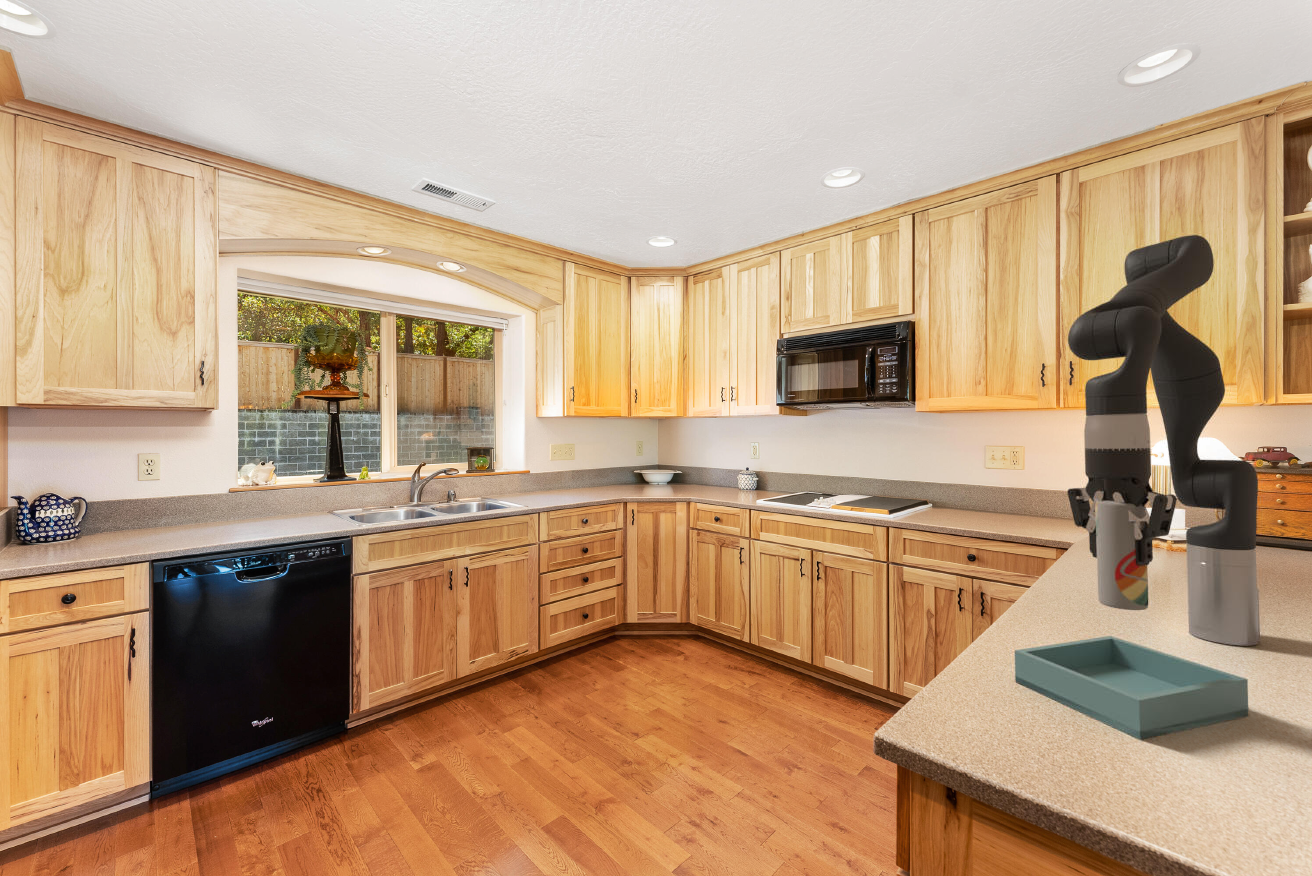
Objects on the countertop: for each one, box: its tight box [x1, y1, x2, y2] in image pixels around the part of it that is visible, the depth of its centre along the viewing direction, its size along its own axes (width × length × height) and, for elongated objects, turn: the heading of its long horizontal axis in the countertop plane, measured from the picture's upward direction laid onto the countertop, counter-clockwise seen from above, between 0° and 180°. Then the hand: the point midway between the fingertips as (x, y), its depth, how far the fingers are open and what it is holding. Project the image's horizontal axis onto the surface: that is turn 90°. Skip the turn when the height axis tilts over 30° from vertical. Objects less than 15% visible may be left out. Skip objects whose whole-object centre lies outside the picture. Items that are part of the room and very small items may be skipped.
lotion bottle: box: [1095, 479, 1149, 611], centre depth 83 cm, size 6×6×20 cm
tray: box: [1014, 635, 1249, 741], centre depth 83 cm, size 20×18×5 cm
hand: (1119, 560), depth 83 cm, fingers closed on lotion bottle, 5 cm apart
